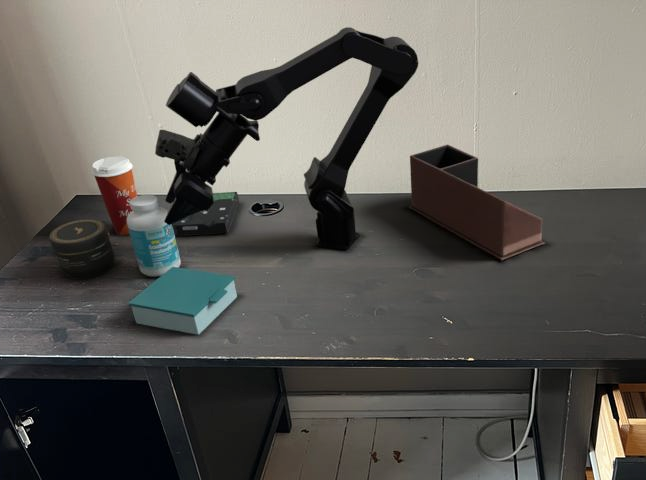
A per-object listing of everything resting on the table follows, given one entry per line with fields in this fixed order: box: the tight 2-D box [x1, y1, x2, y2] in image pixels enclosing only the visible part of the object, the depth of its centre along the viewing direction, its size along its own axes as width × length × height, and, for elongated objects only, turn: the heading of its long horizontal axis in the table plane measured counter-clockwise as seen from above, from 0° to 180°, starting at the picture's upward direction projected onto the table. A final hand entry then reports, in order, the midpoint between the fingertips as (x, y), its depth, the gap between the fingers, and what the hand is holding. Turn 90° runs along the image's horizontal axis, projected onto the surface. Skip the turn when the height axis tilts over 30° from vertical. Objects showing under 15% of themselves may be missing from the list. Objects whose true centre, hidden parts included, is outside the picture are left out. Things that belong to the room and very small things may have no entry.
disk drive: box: [174, 191, 240, 236], centre depth 151 cm, size 10×3×15 cm
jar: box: [48, 219, 115, 280], centre depth 134 cm, size 10×10×8 cm
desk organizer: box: [408, 144, 546, 262], centre depth 140 cm, size 10×29×11 cm, turn 34°
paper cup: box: [91, 155, 138, 236], centre depth 145 cm, size 8×8×14 cm
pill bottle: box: [127, 194, 182, 278], centre depth 131 cm, size 8×7×14 cm
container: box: [128, 267, 238, 336], centre depth 122 cm, size 14×12×4 cm
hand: (167, 212), depth 130 cm, fingers open, 9 cm apart
